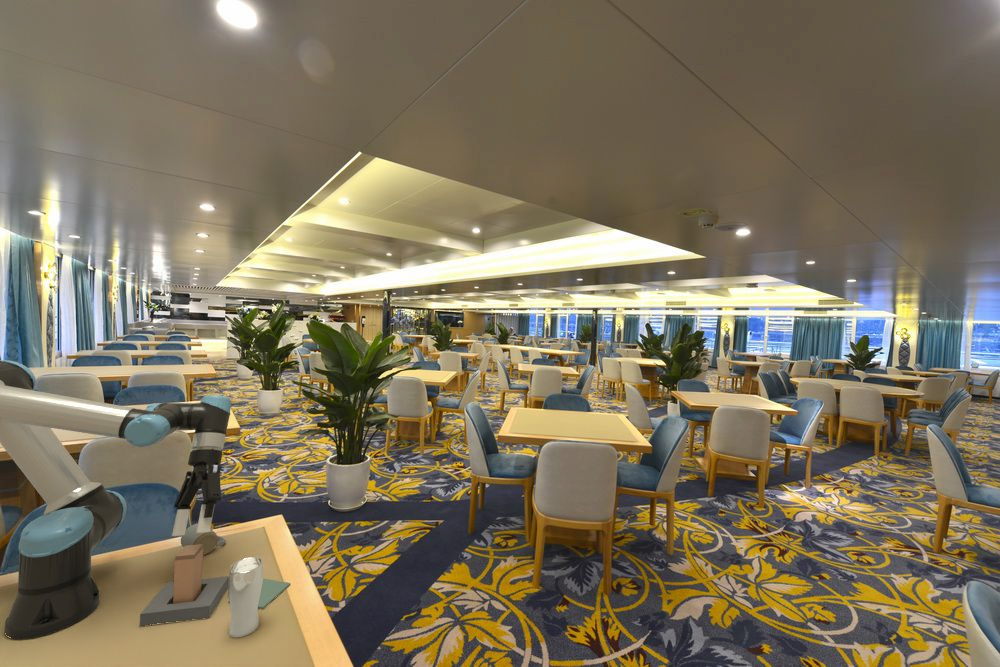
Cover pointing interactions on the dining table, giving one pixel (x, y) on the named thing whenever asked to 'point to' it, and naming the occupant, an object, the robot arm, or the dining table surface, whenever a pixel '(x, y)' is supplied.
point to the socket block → (203, 607)
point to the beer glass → (244, 595)
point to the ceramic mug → (201, 539)
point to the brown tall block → (188, 574)
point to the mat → (270, 591)
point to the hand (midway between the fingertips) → (190, 534)
